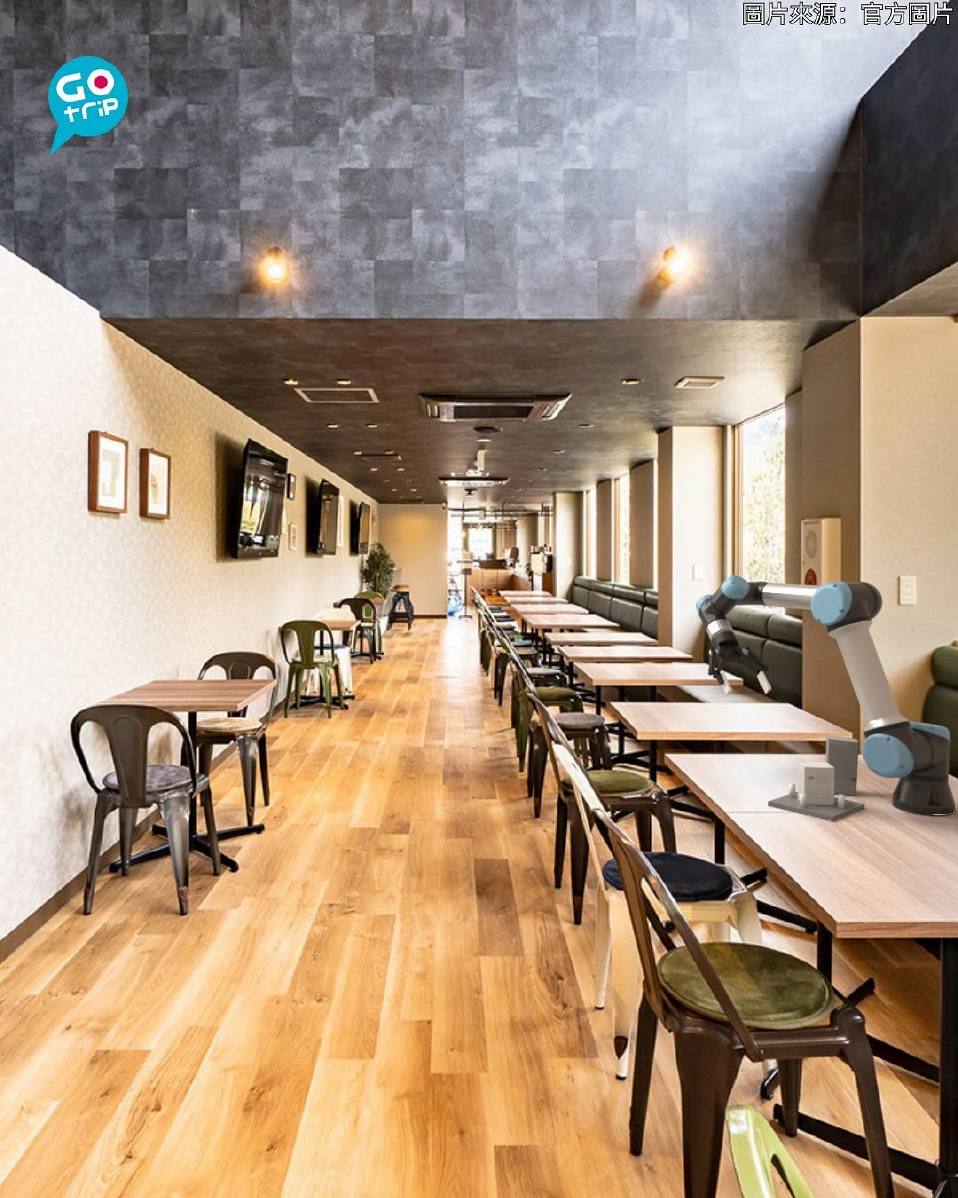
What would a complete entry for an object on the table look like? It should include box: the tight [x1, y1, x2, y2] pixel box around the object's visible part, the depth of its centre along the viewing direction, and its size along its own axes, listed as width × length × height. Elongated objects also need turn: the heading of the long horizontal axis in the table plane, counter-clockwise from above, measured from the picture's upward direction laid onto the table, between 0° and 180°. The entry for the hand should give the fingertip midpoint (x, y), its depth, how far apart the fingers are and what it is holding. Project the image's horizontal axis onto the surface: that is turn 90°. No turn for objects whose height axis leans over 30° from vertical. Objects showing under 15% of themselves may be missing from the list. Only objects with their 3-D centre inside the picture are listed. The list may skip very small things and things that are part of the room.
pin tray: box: [767, 783, 866, 822], centre depth 226 cm, size 18×18×5 cm
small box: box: [797, 761, 835, 805], centre depth 226 cm, size 8×6×10 cm
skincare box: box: [824, 735, 860, 797], centre depth 241 cm, size 8×7×16 cm
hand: (748, 691), depth 250 cm, fingers open, 13 cm apart
